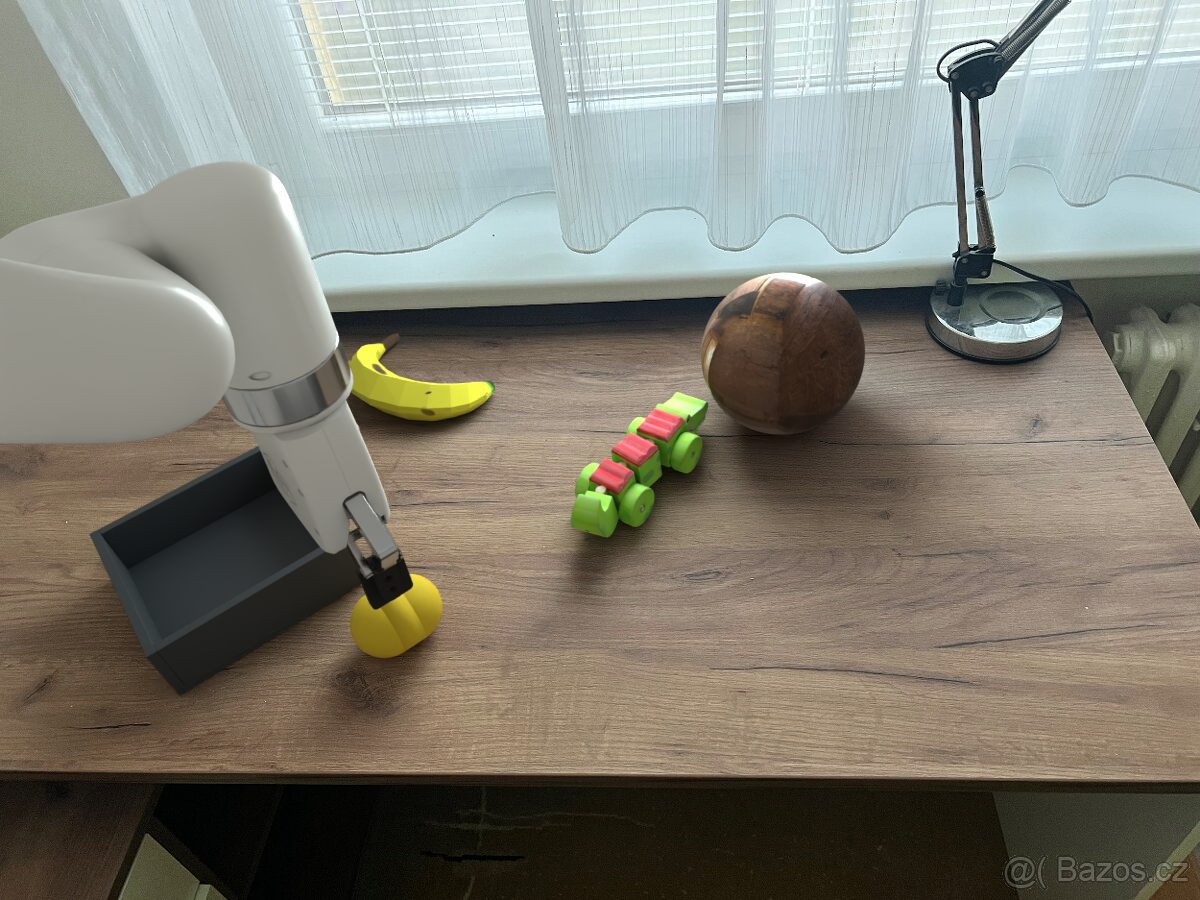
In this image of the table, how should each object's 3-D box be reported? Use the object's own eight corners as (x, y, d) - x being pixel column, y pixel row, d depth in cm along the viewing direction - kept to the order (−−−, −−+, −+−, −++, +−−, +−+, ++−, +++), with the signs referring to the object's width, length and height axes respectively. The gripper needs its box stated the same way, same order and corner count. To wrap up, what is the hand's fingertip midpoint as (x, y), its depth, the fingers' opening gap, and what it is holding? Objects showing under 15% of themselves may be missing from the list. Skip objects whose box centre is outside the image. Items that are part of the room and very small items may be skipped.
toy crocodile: (671, 409, 89) (668, 362, 85) (727, 432, 86) (728, 385, 82) (549, 535, 79) (539, 490, 74) (608, 567, 75) (601, 521, 71)
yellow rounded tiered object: (381, 684, 69) (357, 640, 66) (352, 643, 73) (328, 599, 69) (462, 630, 72) (443, 584, 68) (430, 593, 76) (411, 548, 72)
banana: (479, 397, 87) (514, 326, 99) (314, 385, 89) (368, 316, 101) (483, 435, 89) (517, 361, 101) (323, 421, 92) (374, 351, 104)
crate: (179, 696, 71) (146, 657, 66) (120, 574, 80) (88, 533, 76) (372, 577, 77) (352, 535, 73) (295, 478, 87) (275, 436, 83)
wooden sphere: (858, 371, 90) (876, 245, 80) (852, 475, 80) (871, 346, 70) (714, 360, 94) (713, 237, 83) (690, 458, 84) (686, 333, 73)
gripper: (176, 338, 56) (268, 517, 68) (283, 480, 46) (369, 662, 57) (285, 292, 59) (354, 470, 71) (408, 415, 49) (466, 600, 60)
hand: (361, 556), depth 64 cm, fingers open, 9 cm apart
